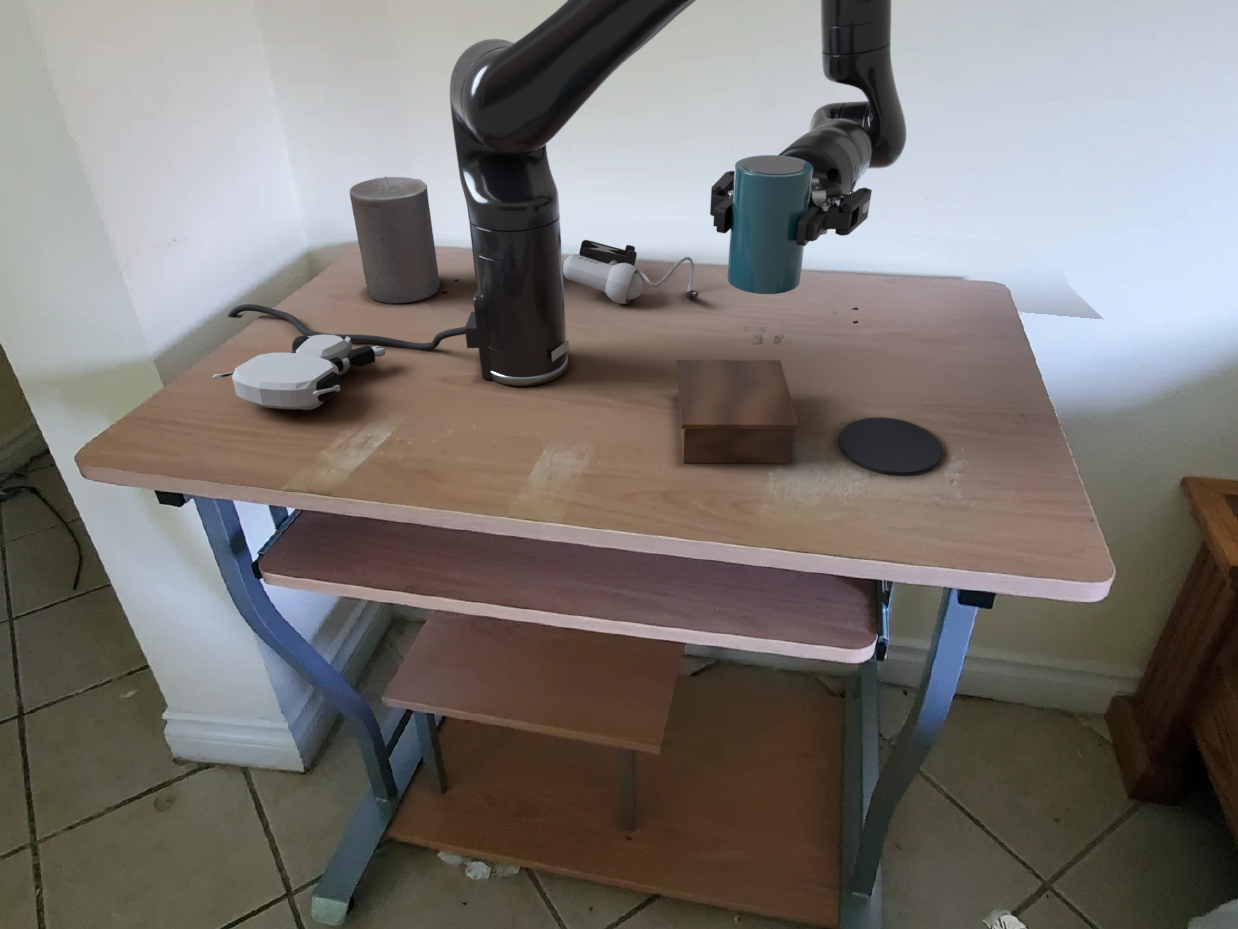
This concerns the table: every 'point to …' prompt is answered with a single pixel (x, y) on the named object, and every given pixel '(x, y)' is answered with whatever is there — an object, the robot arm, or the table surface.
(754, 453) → the riser
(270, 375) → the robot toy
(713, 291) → the table surface
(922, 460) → the coaster
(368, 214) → the pillar candle
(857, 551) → the table surface
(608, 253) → the clip-on lamp
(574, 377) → the table surface
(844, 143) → the robot arm
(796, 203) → the tumbler
